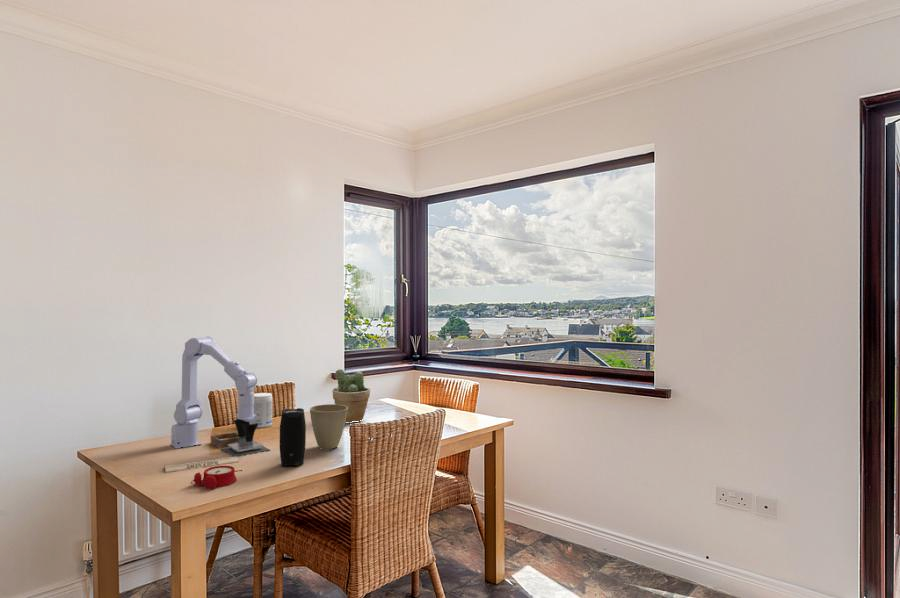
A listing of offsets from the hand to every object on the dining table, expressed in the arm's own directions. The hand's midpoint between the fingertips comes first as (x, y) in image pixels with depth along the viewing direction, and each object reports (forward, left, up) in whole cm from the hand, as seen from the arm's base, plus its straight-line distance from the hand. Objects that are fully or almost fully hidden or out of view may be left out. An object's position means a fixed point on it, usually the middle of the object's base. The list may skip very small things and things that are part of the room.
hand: (245, 439), depth 212 cm
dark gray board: (0, 0, -4) cm, 4 cm away
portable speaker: (+6, -29, -4) cm, 30 cm away
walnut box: (-2, +14, -4) cm, 15 cm away
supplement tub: (+21, +36, -4) cm, 42 cm away
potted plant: (+59, +19, -4) cm, 62 cm away
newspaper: (-19, -10, -5) cm, 22 cm away
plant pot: (+27, -17, -4) cm, 32 cm away
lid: (0, 0, -4) cm, 4 cm away
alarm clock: (-22, -32, -5) cm, 39 cm away
